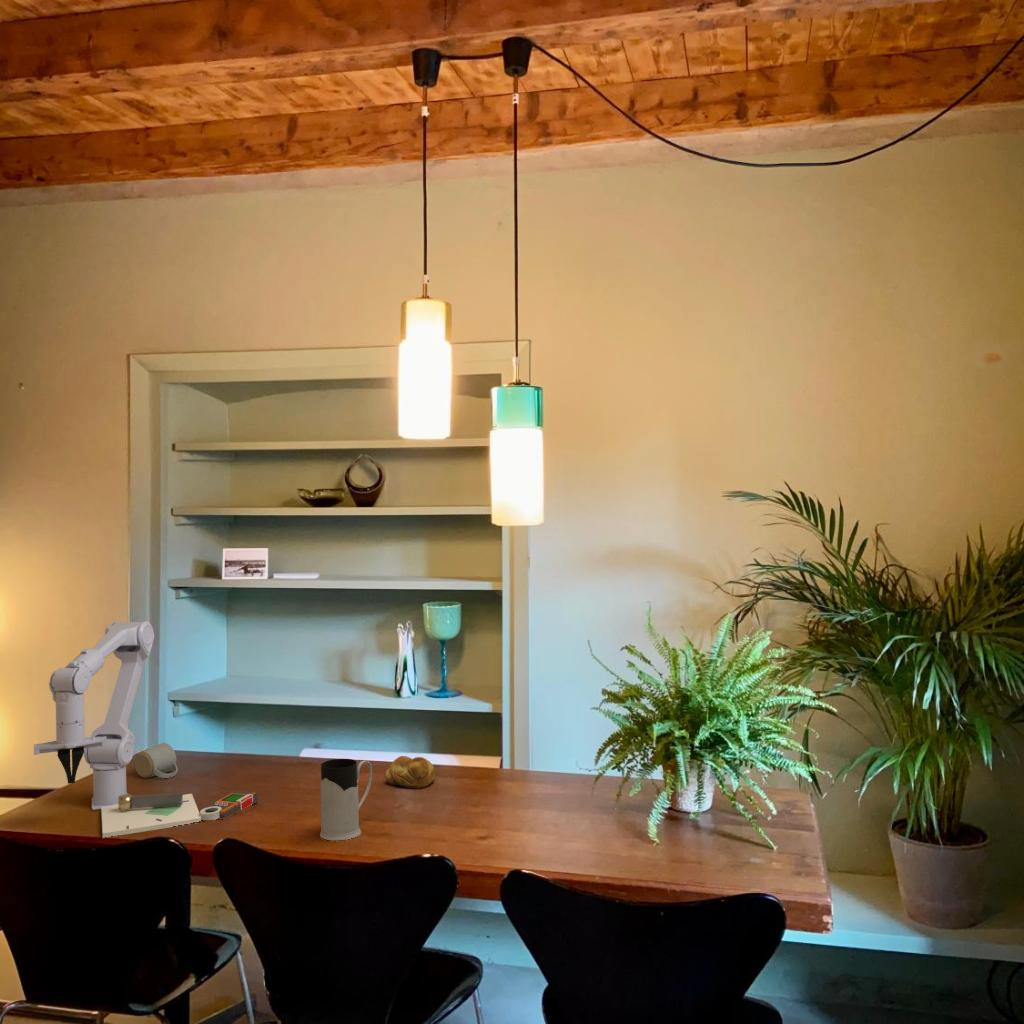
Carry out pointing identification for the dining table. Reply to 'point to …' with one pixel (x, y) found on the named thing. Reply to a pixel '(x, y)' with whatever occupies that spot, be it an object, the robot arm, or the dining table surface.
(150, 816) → the dial plate
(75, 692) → the robot arm
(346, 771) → the tall beer stein
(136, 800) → the grey metal bar
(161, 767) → the ceramic mug
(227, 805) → the electronic device
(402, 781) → the bread roll
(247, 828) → the dining table surface
